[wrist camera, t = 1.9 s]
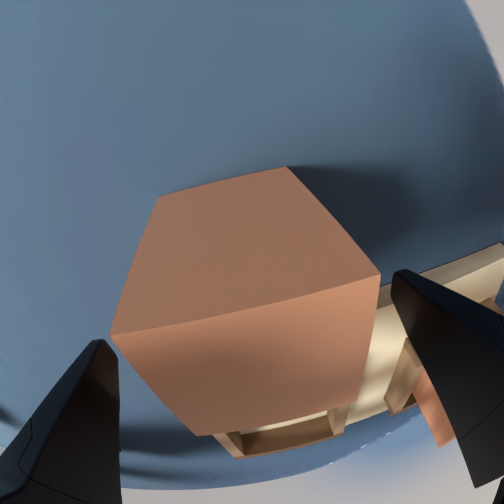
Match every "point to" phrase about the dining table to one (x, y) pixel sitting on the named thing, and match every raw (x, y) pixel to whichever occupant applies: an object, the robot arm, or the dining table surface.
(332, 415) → the socket board
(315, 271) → the loose block
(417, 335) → the robot arm
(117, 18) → the dining table surface
